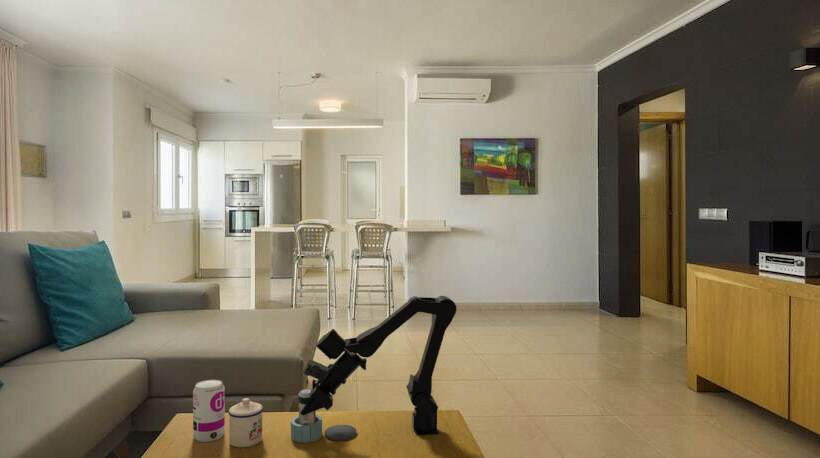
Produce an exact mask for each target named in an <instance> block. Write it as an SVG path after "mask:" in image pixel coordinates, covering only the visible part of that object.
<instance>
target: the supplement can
mask: <svg viewBox="0 0 820 458" xmlns="http://www.w3.org/2000/svg"><path fill="white" fill-rule="evenodd" d="M225 389H226V388H225V385H224V384H223V381H222V380H219V379H205V380H202V381H199V382H197V383H196V384H195V386H194V388H193V390H192V426H193V427H192V430H193V431H192V437H193V439H195V440H196V441H197V442H199V443H209V442H214V441H217V440H219V439H221V438H222V437H223V435H224V434H225V431H226V427H225V424H226V422H225V421H226V417H225V416H226V415H225V414H226V413H225V411H226V410H225V408H226V407H225V406H226V405H225V401H226V398H225V396H226V395H225V391H226V390H225Z"/></svg>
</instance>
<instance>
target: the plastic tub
mask: <svg viewBox="0 0 820 458" xmlns="http://www.w3.org/2000/svg"><path fill="white" fill-rule="evenodd" d="M322 437H323V417H322V416H321V415H318V414H316V423H314V424H310V425H300V424H299V415H296V416H294V417H293V418H291V419H290V439H291V440H292V441H293V442H295V443H299V444H308V443H315V442H317V441H319V440H320V439H321V438H322Z"/></svg>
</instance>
